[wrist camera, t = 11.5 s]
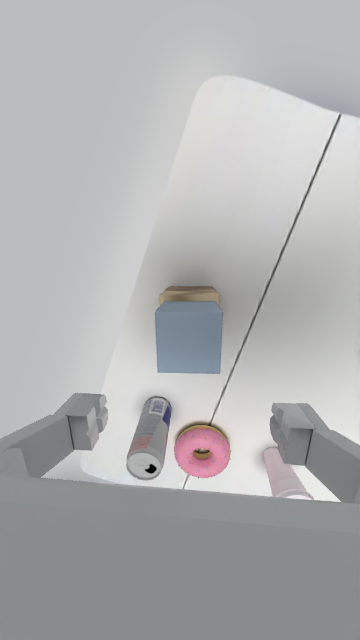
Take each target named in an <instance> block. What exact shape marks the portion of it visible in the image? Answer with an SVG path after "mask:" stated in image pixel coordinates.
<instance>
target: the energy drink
mask: <svg viewBox="0 0 360 640" xmlns="http://www.w3.org/2000/svg"><path fill="white" fill-rule="evenodd" d="M170 417H171V406H170V404H169V403H168V401H166V400H165V399H163V398H159V397H154V398H151V399H149V400H148V401H147V402H146V403H145V405H144V408H143V411H142V414H141V417H140V420H139V423H138V426H137V429H136V432H135V434H134V437H133V440H132V443H131V446H130V449H129V452H128V455H127V464H126V466H127V470H128V472H129V473H130V474H131V475H132V476H133V477H135V478H137V479H140V480H152V479H154V478H156V477H157V476H159V474H160V472H161V470H162V468H163V465H164V459H165V452H166V445H167V438H168V431H169V424H170Z"/></svg>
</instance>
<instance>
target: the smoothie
mask: <svg viewBox="0 0 360 640" xmlns="http://www.w3.org/2000/svg"><path fill="white" fill-rule="evenodd" d="M263 457H264V461H265V465H266V469H267V474H268V478H269V482H270V486H271V491H272V495H273V497H280V498H293V499H306V500H314V498H313V496H312V495H311V494H310V493H308V492H307V491H306V489H305V487H304V486H303V484H302V483H301V481H300V480H299V478H298V477H297V475H296V473H295V472H294V470H293V469H292V467H291V466H290V464H284V463H283V460H282V458H281V456H280V454H279V451H278V448H276V447H270V448H268V449H266V450H265V451H264V453H263Z"/></svg>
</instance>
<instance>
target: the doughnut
mask: <svg viewBox="0 0 360 640" xmlns="http://www.w3.org/2000/svg"><path fill="white" fill-rule="evenodd" d="M201 448H204V449H208V450H210V452H208V453H206V454H199V453H196V452H194V450H196V449H201ZM174 452H175V458H176V459H175V460H176V461H177V463H178V466H180V467H181V469H182V470H184V471H185V473H188V474H190V475H192V476H195V477H198V478H199V477H200V478H207V477H212V476H215V475H217V474H219V473H221V472H222V471H223V470H224V469H225V468H226V467H227V464H228V462H229V460H230V459H231V458H230V446H229V444H228V442H227V439H226V438H225V436H224V435H223V434H222V433H221V432H220V431H218V430H217V429H215V428H213V427H210V426H206V425H196V426H192V427H189V428H187V429H186V430H184V431H183V432H182V433H181V434H180V435H179V437H178V439H177V441H176V443H175V447H174Z"/></svg>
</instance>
